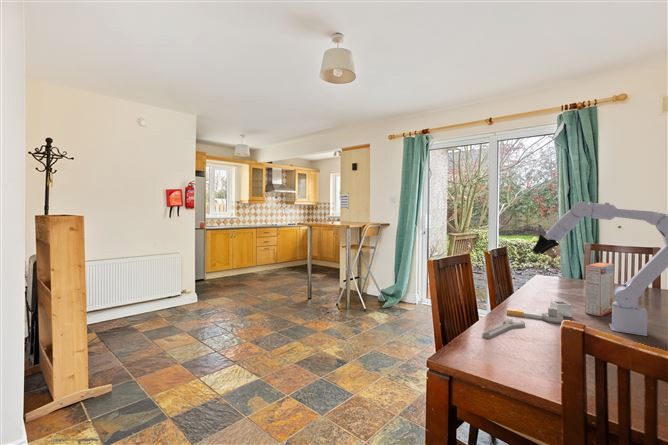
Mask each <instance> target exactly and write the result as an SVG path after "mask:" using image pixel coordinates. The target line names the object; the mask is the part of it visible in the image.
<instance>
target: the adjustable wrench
mask: <svg viewBox="0 0 668 445" xmlns="http://www.w3.org/2000/svg"><path fill="white" fill-rule="evenodd" d="M502 321H503V324H502V325H500V326H497V327H494V328H491V329H489V330H488V331H485V332H483V333H482V334H481V335H482V336H481V337H482V338H484V339H491V338H494V337H496V336H498V335H500V334H503V333H505V332H507V331H509V330H512V329H519V328H525V327H526V323H525V321H524V320H520V321H519V322H517V321H516V322H515V321H514V320H513V318H512V319H511V318H508V319H505V320H502Z"/></svg>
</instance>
